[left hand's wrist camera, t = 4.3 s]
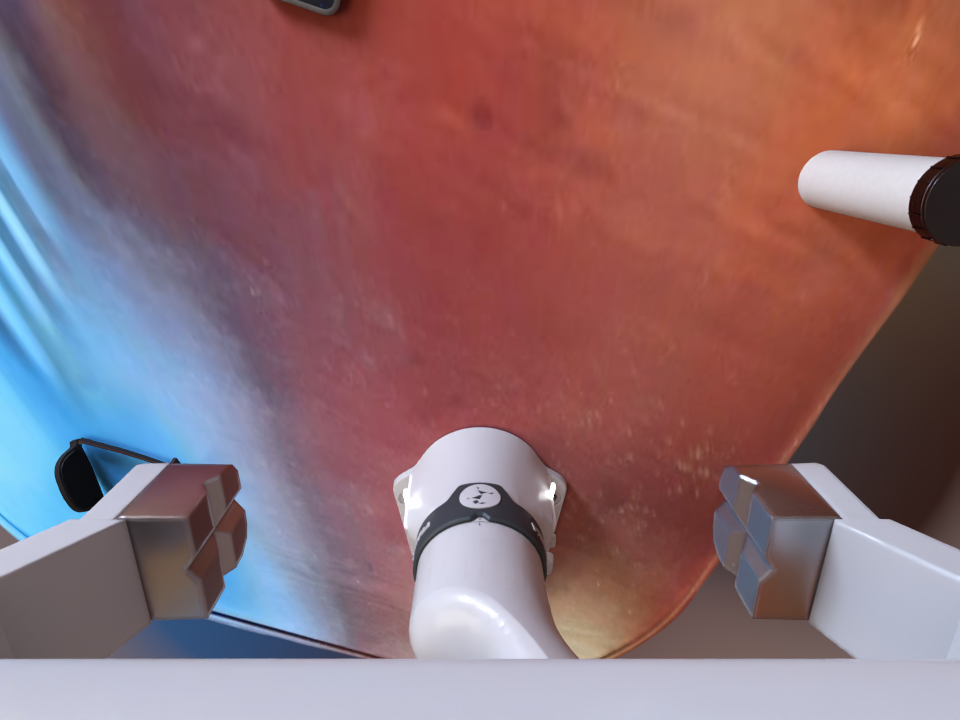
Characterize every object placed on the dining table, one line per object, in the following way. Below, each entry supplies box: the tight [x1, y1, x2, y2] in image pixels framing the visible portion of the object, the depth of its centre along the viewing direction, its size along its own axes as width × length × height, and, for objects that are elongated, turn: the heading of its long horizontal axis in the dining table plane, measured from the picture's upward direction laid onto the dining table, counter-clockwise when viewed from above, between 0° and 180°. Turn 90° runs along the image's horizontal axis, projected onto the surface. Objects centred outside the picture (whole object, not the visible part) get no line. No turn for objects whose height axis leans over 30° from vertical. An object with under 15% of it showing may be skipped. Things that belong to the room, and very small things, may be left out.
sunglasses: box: [55, 438, 181, 512], centre depth 64 cm, size 17×14×5 cm
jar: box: [798, 150, 945, 232], centre depth 47 cm, size 5×5×17 cm
